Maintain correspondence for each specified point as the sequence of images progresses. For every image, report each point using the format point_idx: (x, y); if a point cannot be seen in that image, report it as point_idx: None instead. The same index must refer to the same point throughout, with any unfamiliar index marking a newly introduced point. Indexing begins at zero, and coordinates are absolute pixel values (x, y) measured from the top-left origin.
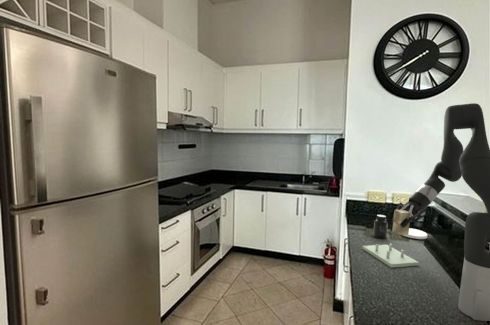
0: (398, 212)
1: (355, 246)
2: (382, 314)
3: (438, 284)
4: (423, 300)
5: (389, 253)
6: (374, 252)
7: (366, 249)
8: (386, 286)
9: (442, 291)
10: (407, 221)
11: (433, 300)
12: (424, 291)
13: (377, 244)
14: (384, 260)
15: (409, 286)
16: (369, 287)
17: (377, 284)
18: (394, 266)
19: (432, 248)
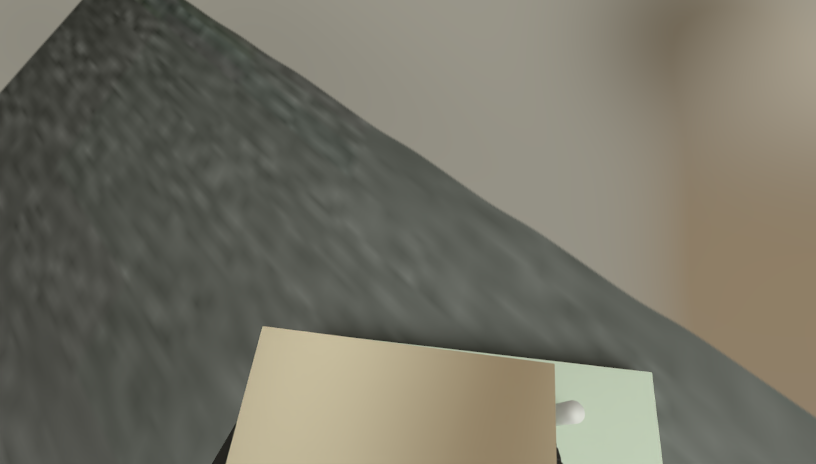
0: (386, 347)
1: (685, 355)
2: (95, 22)
3: (65, 455)
4: (45, 216)
5: None
6: None
7: (601, 368)
8: (206, 157)
9: (16, 394)
10: (221, 461)
11: (14, 260)
12: (79, 291)
13: (578, 418)
14: (406, 344)
15: (150, 258)
16: (235, 91)
17: (237, 135)
18: None
19: None
